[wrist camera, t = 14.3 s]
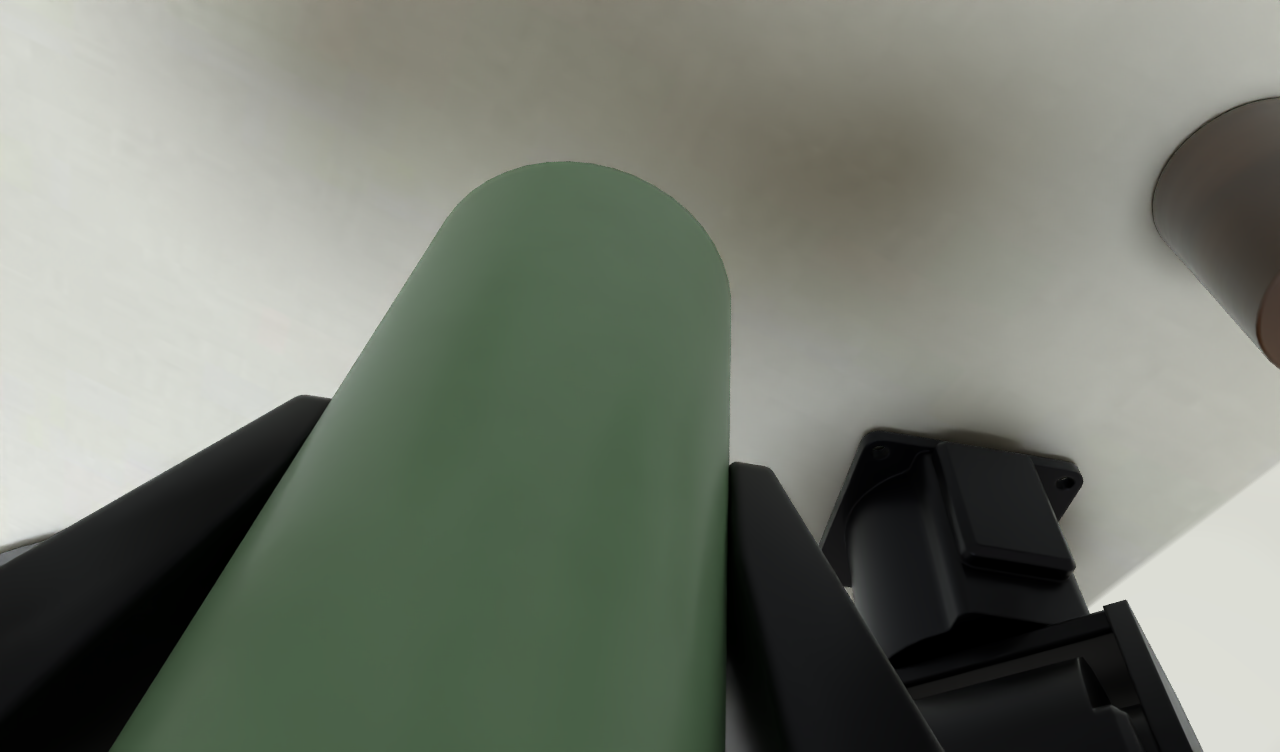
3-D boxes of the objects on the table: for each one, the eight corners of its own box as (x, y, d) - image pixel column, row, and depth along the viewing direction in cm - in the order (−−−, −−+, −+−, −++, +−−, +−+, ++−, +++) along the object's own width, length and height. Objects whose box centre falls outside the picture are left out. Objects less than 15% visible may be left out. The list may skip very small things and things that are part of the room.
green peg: (703, 438, 12) (638, 1739, 4) (434, 397, 12) (-146, 1615, 4) (759, 186, 10) (860, 2121, 2) (425, 134, 10) (-980, 1823, 2)
